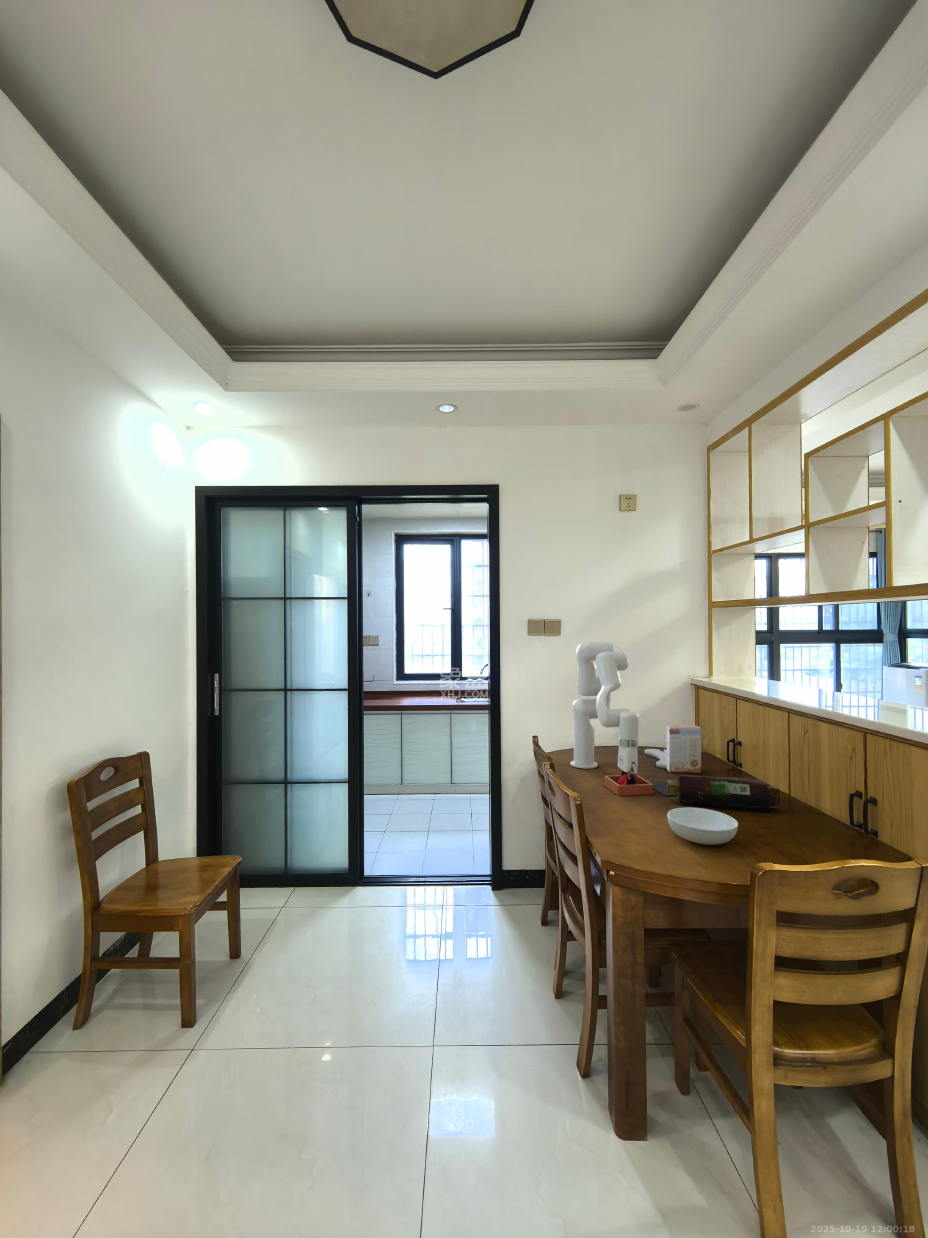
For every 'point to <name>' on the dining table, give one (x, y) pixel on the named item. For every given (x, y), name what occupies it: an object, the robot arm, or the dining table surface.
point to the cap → (624, 779)
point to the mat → (661, 788)
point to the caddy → (629, 786)
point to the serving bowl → (702, 825)
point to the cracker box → (683, 749)
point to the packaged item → (725, 792)
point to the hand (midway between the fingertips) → (627, 786)
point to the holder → (659, 755)
